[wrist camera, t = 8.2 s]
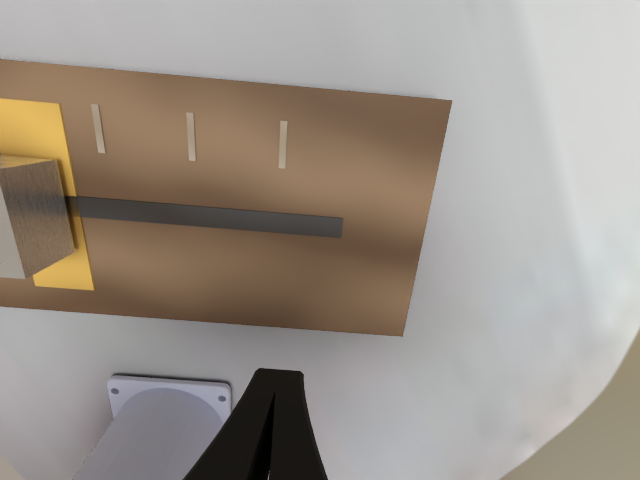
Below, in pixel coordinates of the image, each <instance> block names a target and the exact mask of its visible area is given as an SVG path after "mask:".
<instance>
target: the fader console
mask: <svg viewBox="0 0 640 480" xmlns="http://www.w3.org/2000/svg"><path fill="white" fill-rule="evenodd" d="M451 104H452V100H441V99H431V98H420V97H409V96H398V95H387V94H376V93H365V92H354V91H343V90H332V89H321V88H310V87H299V86H288V85H277V84H266V83H255V82H244V81H233V80H222V79H211V78H201V77H190V76H179V75H168V74H157V73H146V72H135V71H124V70H113V69H102V68H91V67H80V66H69V65H58V64H47V63H36V62H25V61H14V60H3V59H0V155H8V156H19V157H31V158H43V159H55V160H57V165H58V169H59V174H60V179H61V184H62V189H63V194H64V199H65V204H66V209H67V214H68V219H69V224H70V229H71V234H72V239H73V244H74V249H75V252H74V253H73V254H71V255H69V256H67V257H65V258H63V259H62V260H60V261H58V262H56V263H54V264H53V265H51V266H49V267H47V268H45V269H43V270H42V271H40V272H38V273H36V274H34V275H32V276H31V277H29V278H27V279H17V278H4V277H0V306H1V307H14V308H27V309H41V310H54V311H67V312H81V313H94V314H108V315H121V316H134V317H148V318H161V319H174V320H188V321H201V322H215V323H228V324H241V325H255V326H268V327H281V328H295V329H308V330H322V331H335V332H348V333H362V334H375V335H388V336H402V337H403V332H404V328H405V323H406V318H407V313H408V309H409V304H410V299H411V294H412V290H413V285H414V280H415V275H416V271H417V266H418V261H419V256H420V252H421V247H422V242H423V237H424V233H425V228H426V223H427V218H428V214H429V209H430V204H431V199H432V195H433V190H434V185H435V180H436V176H437V171H438V166H439V161H440V157H441V152H442V147H443V142H444V138H445V133H446V128H447V123H448V119H449V114H450V109H451Z"/></svg>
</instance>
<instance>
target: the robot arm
mask: <svg viewBox="0 0 640 480" xmlns="http://www.w3.org/2000/svg"><path fill="white" fill-rule="evenodd" d="M107 389H108V394H109V400H110V405H111V410H112V415H113V421H112V422H111V424H110V425H109V427H108V428H107V430H106V431H105V433H104V434H103V435H102V437H101V438H100V440H99V441H98V443H97V444H96V446H95V447H94V449H93V450H92V451H91V453H90V454H89V456H88V457H87V459H86V460H85V462H84V463H83V464H82V466H81V467H80V469H79V470H78V472H77V473H76V475H75V476H74V477H73V479H72V480H268V476H269V480H328V478H327V475H326V472H325V469H324V466H323V463H322V460H321V457H320V454H319V451H318V448H317V444H316V441H315V437H314V433H313V429H312V426H311V422H310V418H309V413H308V408H307V403H306V398H305V391H304V374H303V373H302V372H301V371H292V370H278V369H264V368H259V369H258V370H256V371H255V373H254V375H253V377H252V379H251V381H250V383H249V385H248V387H247V388H246V390H245V392H244V394H243V395H242V397H241V399H240V400H239V402H238V403H237V405H236V407H235V408H234V410H233V411H232V413H231V388H230V386H229V385H228V384H226V383H217V382H202V381H188V380H174V379H160V378H146V377H132V376H118V375H115V376H111V377H110V378H109V380H108V381H107ZM222 396H224V397H222ZM269 471H270V473H269Z"/></svg>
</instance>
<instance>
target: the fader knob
mask: <svg viewBox="0 0 640 480" xmlns="http://www.w3.org/2000/svg"><path fill="white" fill-rule="evenodd" d="M74 252H75V249H74V244H73V239H72V234H71V229H70V224H69V219H68V214H67V209H66V204H65V199H64V194H63V189H62V184H61V179H60V174H59V169H58V165H57V160H55V159H43V158H31V157H19V156H8V155H0V277H4V278H17V279H27V278H29V277H31V276H32V275H34V274H36V273H38V272H40V271H42V270H43V269H45V268H47V267H49V266H51V265H53V264H54V263H56V262H58V261H60V260H62V259H63V258H65V257H67V256H69V255H71V254H73V253H74Z"/></svg>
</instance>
